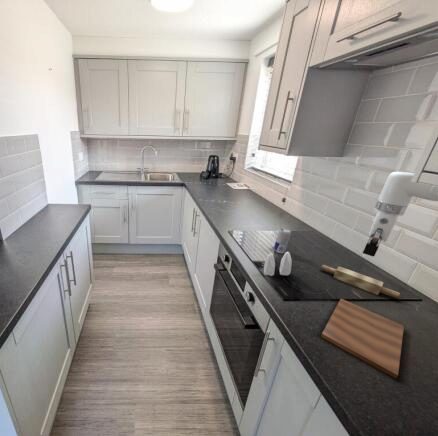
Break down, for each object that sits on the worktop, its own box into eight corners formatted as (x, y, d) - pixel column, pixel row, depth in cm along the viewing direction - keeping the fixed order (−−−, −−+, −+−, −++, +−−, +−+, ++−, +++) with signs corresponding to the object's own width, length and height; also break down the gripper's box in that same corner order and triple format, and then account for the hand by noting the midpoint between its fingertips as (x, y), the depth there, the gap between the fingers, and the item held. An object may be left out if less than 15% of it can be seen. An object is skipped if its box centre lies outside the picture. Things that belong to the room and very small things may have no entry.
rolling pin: (318, 273, 101) (322, 264, 99) (321, 269, 103) (324, 261, 102) (395, 303, 84) (401, 293, 82) (396, 298, 87) (401, 288, 85)
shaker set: (287, 272, 100) (294, 249, 96) (293, 277, 97) (300, 255, 93) (260, 270, 101) (265, 248, 97) (264, 276, 97) (270, 253, 93)
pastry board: (339, 302, 84) (340, 298, 83) (401, 330, 73) (404, 326, 72) (320, 338, 69) (322, 333, 68) (395, 380, 58) (398, 375, 57)
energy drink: (275, 247, 121) (281, 227, 116) (286, 251, 117) (292, 230, 113) (271, 251, 118) (277, 229, 113) (282, 255, 114) (289, 233, 109)
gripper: (404, 216, 72) (381, 262, 79) (406, 206, 83) (386, 247, 90) (372, 209, 78) (353, 253, 84) (378, 200, 88) (361, 240, 95)
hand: (370, 250), depth 87 cm, fingers open, 9 cm apart
